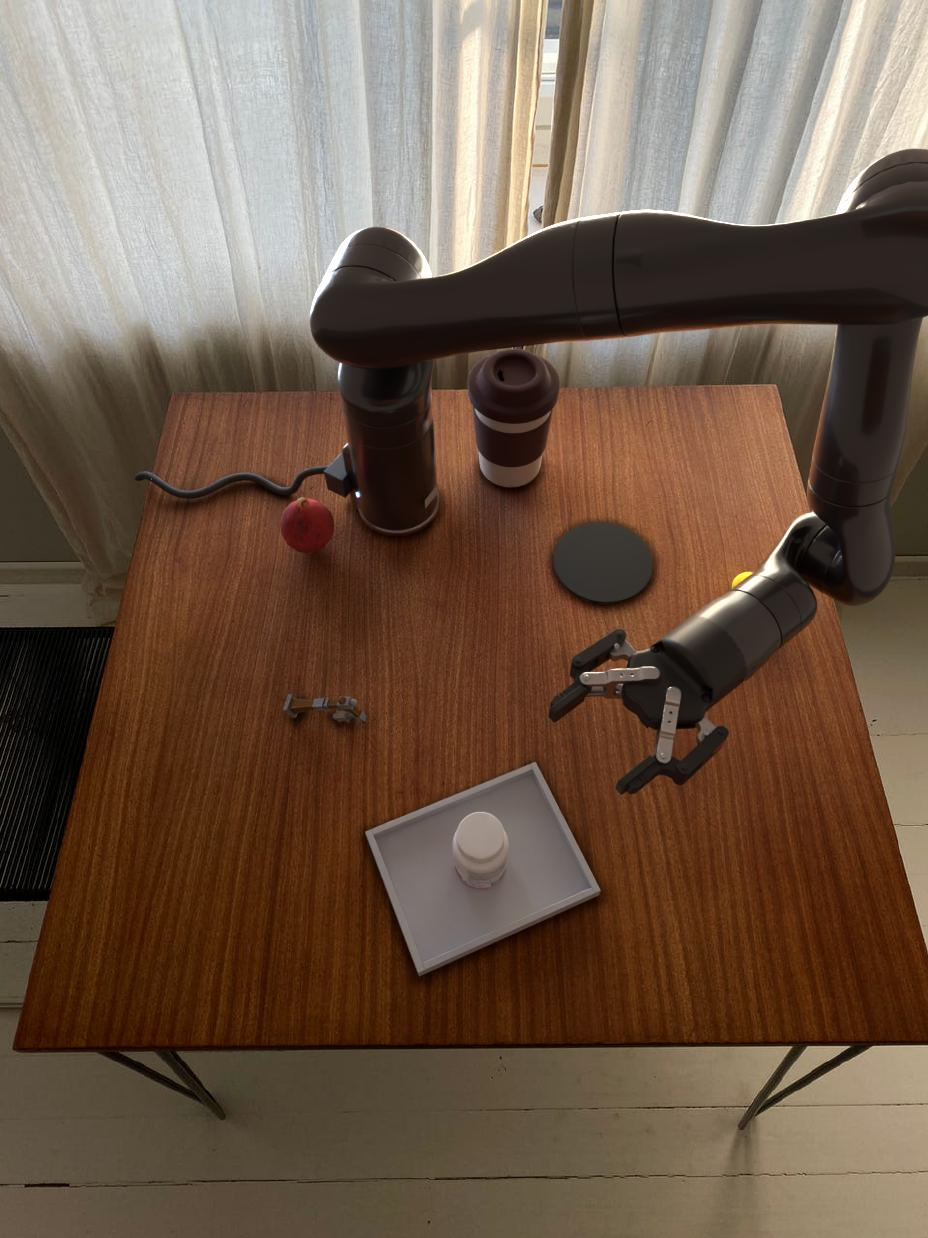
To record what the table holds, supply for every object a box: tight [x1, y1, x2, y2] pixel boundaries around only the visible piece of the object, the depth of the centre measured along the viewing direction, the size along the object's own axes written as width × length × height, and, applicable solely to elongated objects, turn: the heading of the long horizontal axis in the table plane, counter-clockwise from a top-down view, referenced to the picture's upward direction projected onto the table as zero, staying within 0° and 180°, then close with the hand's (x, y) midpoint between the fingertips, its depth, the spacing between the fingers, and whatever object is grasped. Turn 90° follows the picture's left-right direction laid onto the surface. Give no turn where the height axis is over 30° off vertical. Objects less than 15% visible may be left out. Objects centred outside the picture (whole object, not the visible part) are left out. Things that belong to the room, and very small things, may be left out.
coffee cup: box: [467, 348, 561, 488], centre depth 98 cm, size 10×10×15 cm
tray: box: [364, 761, 602, 977], centre depth 78 cm, size 17×13×2 cm
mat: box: [552, 521, 654, 605], centre depth 97 cm, size 11×11×1 cm
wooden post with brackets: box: [282, 693, 369, 724], centre depth 86 cm, size 2×8×4 cm, turn 79°
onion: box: [280, 496, 335, 555], centre depth 95 cm, size 6×6×8 cm
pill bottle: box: [453, 812, 508, 890], centre depth 75 cm, size 5×5×8 cm
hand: (584, 751), depth 74 cm, fingers open, 8 cm apart
